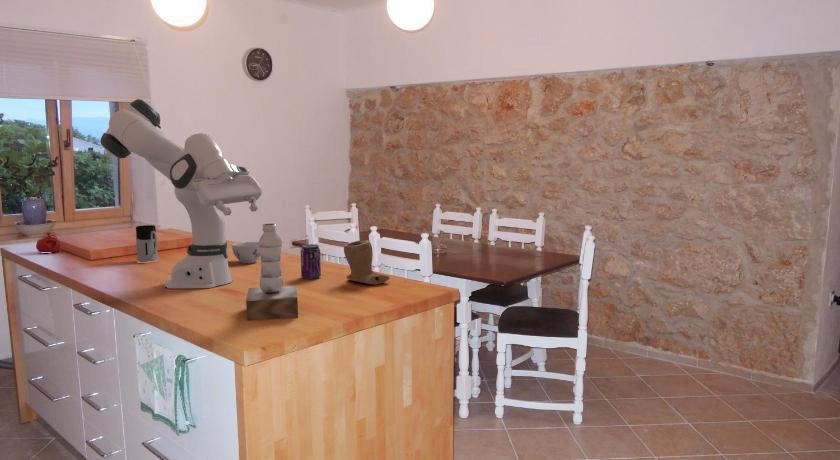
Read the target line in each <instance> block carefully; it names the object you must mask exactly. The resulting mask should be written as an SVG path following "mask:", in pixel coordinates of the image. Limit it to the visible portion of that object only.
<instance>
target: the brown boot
mask: <svg viewBox="0 0 840 460" xmlns="http://www.w3.org/2000/svg"><path fill="white" fill-rule="evenodd" d="M343 254H344V256H345V260H346V261H347V263H348V266H349V268H350V274H348V275H347V276H346V279H347V280H349V281H352V282H356V283H361V284H362V283H363V284H368V285H374V286H375V285H376V286H377V285H380V284H381V285H382V284H383V283H386V282H388V281H389V280H390V276H388V275H385V274H381V273H377V272H374V271H373V266H372V265H373V264H372V263H373V257H374V256H373V254H374V253H373V247H372V243H371V242H370V240H368V239H366V240H355V241H351V242H348V243H346V244H344V246H343Z"/></svg>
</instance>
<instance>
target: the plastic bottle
mask: <svg viewBox="0 0 840 460" xmlns="http://www.w3.org/2000/svg"><path fill="white" fill-rule="evenodd" d="M276 231H277V224H276V223H263V224H262V232H263V233H262V235H261V236H260V237H259V239H258V242H259V243H258V244H259V250H260V264H261V265H260V267H261V268H260V277H259V288H260V289H261V290H262V292H267V293H274V292H278V291H281V289H282V288H283V286H284V279H283V276H282V269H281V259H282V258H281V254H282V245H283V244H282V243H283V242H282V239H281V237H280V236H279V235H278V233H277V232H276Z"/></svg>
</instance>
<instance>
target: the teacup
mask: <svg viewBox="0 0 840 460" xmlns="http://www.w3.org/2000/svg"><path fill="white" fill-rule="evenodd" d="M258 243H259V241H248V242H247V241H246V242H235V243H232V244H231V248H232V251H233V252H232V253H233V254H234V257H235V258H236V259H237V260H238V261H240V263H241V264H244V263H248V264H254V263H256V261H258V260H259V258H261V256H260V250H259V244H258Z"/></svg>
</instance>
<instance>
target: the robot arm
mask: <svg viewBox="0 0 840 460" xmlns="http://www.w3.org/2000/svg"><path fill="white" fill-rule="evenodd" d="M160 124H161V116H160V113H159V112H158V109H157V108H156V107H155V106H154V105H153V104H152V103H151V102H148V101H146V100H142V98H141V99H139V98H136V99H135V100H133V101H132V102H130V103H129V105H127V107H126V108H125V109H121V110H118V111H115V112H114V113H113V114H112V115H111V116H110V118H109V122H108V128H107V130H106V131H105V132H104V133H102V135H101V137H100V140H99V141H100V145H101V147H102V148H103V149H104V151H105V152H106V153H108V155H110V156H112V157H115V158H118V159H126V158H128V157H129V156H130V155H131V154H132V153H133V154H135V155H137V156H138V157H141V158H144V159H145V161H146V162H148V163H149V165H151V166H152V167H153V168H154V169H155V170H156V171H158V172H159V173H161V174H162V175H163V177H165V178H167V179H168V180H169V181H170V182H171V184H172V186H173V187H174V189H173V191H174V195H175V198H176V199H177V200H178V202H179V203H181V205H183V206H184V208H185V210H186V211H187V214H188V217H189V220H190V225H191V233H192V235H191V236H192V237H191V238H192V243H188V244H187V245H186V253H187V255H186V256H185V257H183V258H182V259H181V260H180V261H178V262H177V263H176V264H175V265H173V267H172V270H171V274H170V278H169V279H167V280H165V282H164V288H165V287H167V288H166V289H210V288H215V287H217V286H223V285H226V284H227V285H228V284H230V283H232V282H233V278H232V275H231V272H230V268H229V262H228V261H229V260H228V257H229V249H228V248H229V247H228V242H227V240H226V221H225V220H224V218H223V217H221V216H220V215H219V213H218V211H217V210H219V211H220V212H222V213H223V215H224V216H230V215H231V214H232V210H231V209H230V207H227V206H226V205H229V204H235V203H245V202H247V203H248V204H250V206H249V207H248V208H249V210H250V211H251V212H257V211H258V206H257V204H256V201H258V200H259V198H260V197H261V196H262V193H263V189H262V187H261V185H260V184H259V183H258V182H257V180H256V179H255V177H253V175H251V174H249V173H250V170H249V168H248V167H245V166H239V165H236V164H232V163H230V162H229V161H228V159H226V158H225V157H224V153H223V151H222V149H221V148H220V146H219V145H218V144H217V142H216V140H215V139H214V138H213V137H212V136H210V134H207V133H202V132H201V133H200V132H199V133H195V134H192V135H190V136H189V137H187V138H186V139H185V141H184V148H183V147H181V146H180V145H178V144H177V143H176V142H175V141H174V140H172V139H171V138H169V137H168V136H167V135H166V134H165V133H163V132H162V131H161V129H162V127H161V125H160ZM158 128H159V129H158Z"/></svg>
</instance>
